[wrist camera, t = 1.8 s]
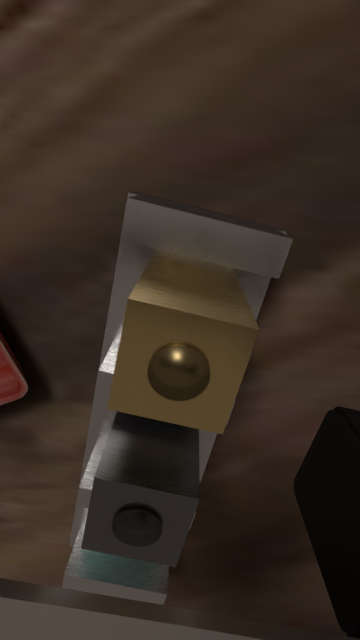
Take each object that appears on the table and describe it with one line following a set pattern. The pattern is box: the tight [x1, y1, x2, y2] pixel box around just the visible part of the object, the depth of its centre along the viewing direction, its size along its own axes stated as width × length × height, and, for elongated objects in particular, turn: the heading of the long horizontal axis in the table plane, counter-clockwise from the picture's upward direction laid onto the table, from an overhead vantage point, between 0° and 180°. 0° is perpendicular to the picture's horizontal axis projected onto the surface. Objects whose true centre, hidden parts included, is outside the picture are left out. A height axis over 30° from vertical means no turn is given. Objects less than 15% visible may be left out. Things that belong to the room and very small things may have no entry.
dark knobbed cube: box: [81, 411, 200, 567], centre depth 18 cm, size 4×4×7 cm
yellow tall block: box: [107, 256, 260, 434], centre depth 15 cm, size 4×4×7 cm
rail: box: [62, 192, 293, 605], centre depth 21 cm, size 8×26×5 cm, turn 167°
